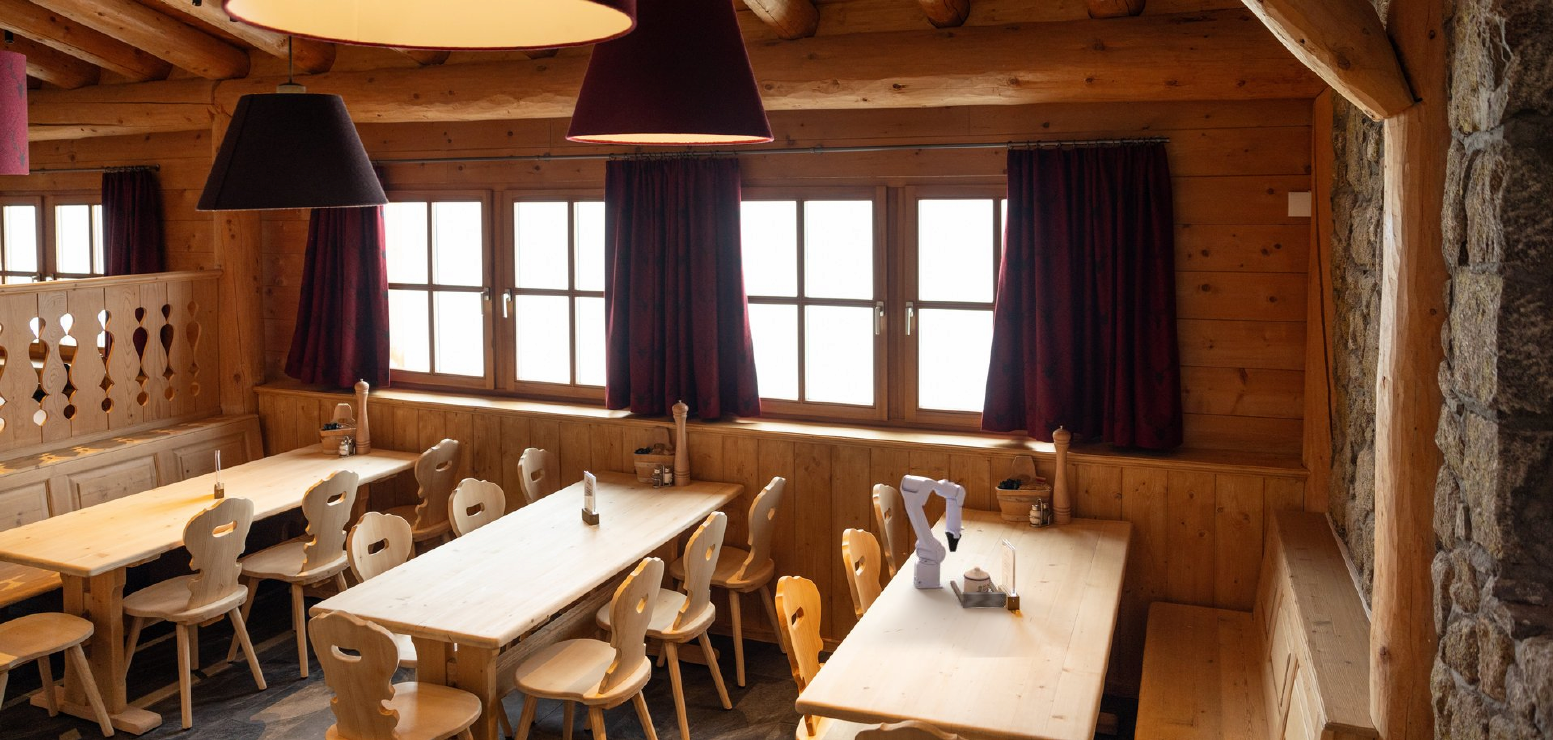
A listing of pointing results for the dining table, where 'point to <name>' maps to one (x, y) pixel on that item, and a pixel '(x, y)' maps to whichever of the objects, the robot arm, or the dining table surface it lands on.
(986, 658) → the dining table surface
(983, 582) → the teacup with lid
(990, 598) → the guide track
